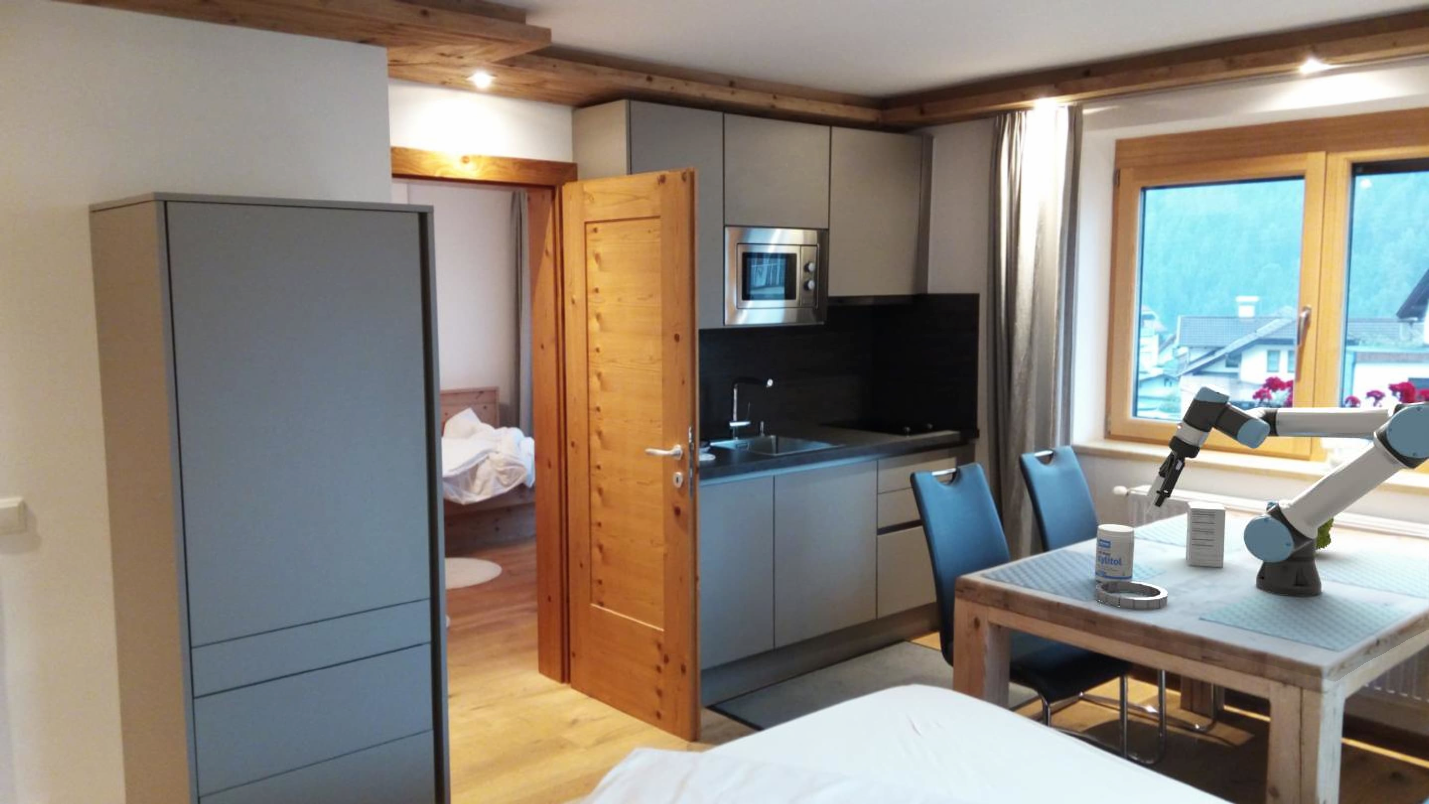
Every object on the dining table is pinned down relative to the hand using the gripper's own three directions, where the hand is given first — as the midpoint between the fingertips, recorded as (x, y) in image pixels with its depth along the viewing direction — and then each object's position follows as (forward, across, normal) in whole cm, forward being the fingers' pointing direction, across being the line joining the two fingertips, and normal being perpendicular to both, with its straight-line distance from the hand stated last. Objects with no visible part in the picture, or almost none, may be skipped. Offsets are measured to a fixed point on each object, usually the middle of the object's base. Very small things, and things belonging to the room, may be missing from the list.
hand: (1151, 505), depth 287 cm
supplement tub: (+20, +11, -1) cm, 23 cm away
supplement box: (+16, -18, +23) cm, 33 cm away
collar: (+16, +28, +2) cm, 32 cm away
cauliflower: (+9, -40, +48) cm, 63 cm away
